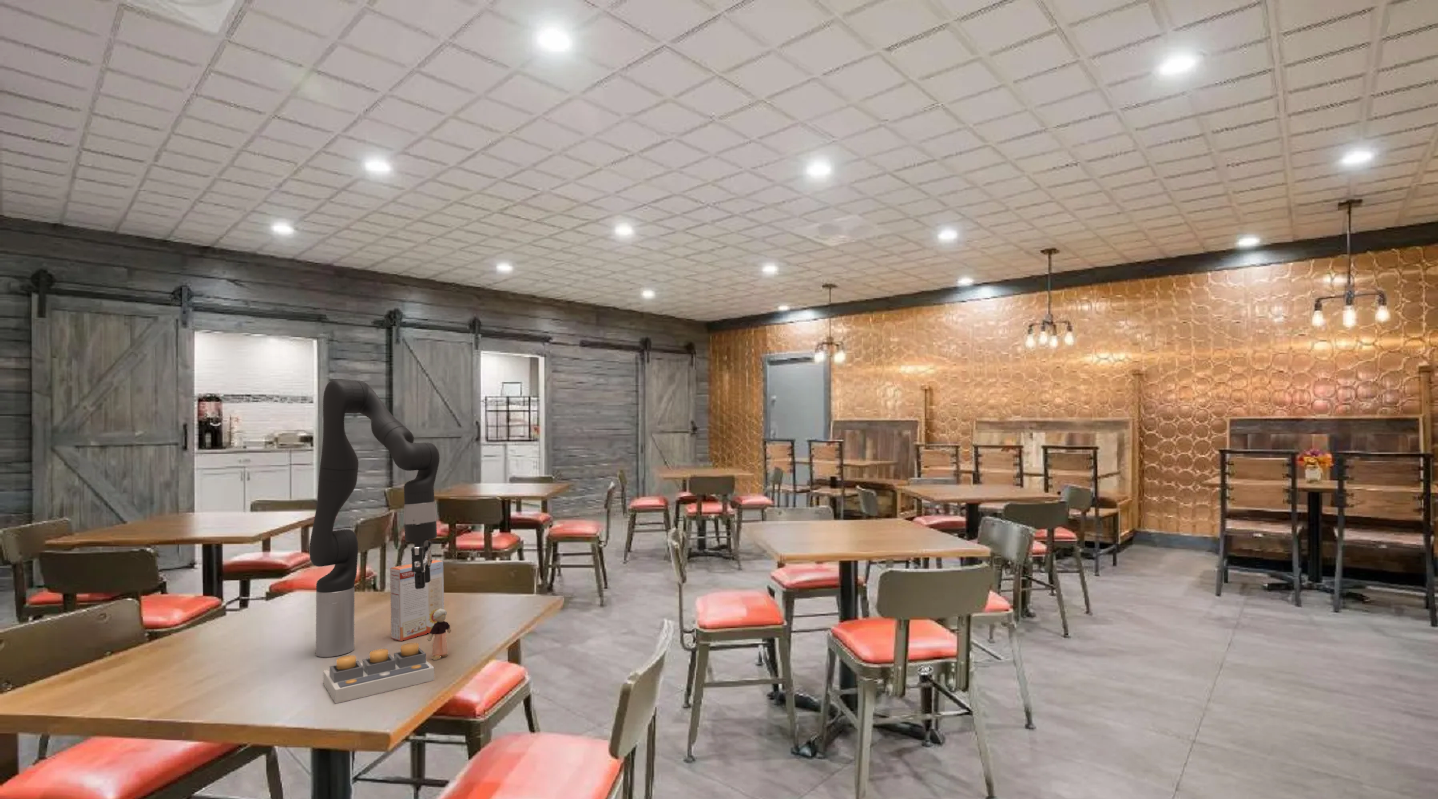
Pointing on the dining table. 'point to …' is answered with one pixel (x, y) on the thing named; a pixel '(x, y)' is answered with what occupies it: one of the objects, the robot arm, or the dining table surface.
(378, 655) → the middle button
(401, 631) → the cracker box
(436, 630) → the grandmother figurine
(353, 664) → the left button
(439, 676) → the dining table surface
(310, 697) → the dining table surface
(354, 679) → the button console
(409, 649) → the right button
